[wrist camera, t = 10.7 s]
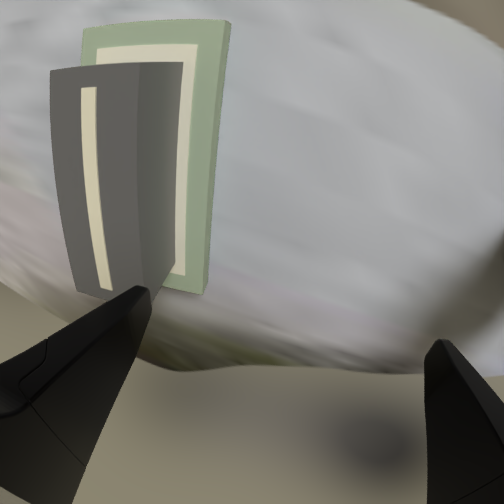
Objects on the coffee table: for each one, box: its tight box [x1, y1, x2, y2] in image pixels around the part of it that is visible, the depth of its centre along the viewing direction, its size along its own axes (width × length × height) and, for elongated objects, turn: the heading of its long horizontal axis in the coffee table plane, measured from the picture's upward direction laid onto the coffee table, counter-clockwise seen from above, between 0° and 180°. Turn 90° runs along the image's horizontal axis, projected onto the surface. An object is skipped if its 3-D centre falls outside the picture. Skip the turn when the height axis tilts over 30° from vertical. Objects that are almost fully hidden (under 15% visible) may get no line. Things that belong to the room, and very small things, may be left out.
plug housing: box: [50, 62, 184, 303], centre depth 16 cm, size 5×13×5 cm, turn 173°
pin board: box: [81, 19, 231, 295], centre depth 18 cm, size 9×18×4 cm, turn 173°
